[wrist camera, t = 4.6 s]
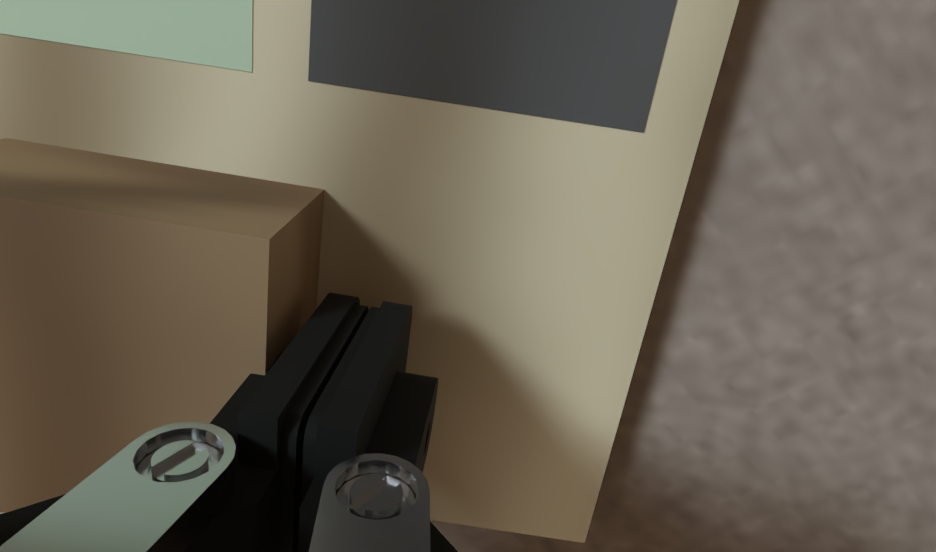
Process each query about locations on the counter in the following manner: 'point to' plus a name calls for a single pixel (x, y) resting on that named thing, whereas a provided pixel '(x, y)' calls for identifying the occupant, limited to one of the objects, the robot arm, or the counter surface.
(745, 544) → the counter surface
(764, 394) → the counter surface
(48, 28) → the green pad
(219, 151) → the board
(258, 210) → the block
